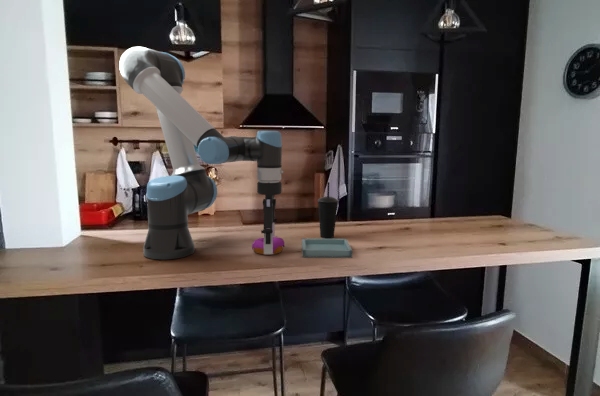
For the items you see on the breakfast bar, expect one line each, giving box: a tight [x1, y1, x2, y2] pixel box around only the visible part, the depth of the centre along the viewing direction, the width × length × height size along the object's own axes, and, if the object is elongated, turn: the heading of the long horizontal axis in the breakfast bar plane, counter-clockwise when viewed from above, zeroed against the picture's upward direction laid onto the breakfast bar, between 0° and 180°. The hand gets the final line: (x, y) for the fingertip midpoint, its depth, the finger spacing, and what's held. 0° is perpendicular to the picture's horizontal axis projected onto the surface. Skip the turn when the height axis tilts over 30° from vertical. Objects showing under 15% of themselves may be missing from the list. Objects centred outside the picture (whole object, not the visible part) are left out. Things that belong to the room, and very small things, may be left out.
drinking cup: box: [317, 181, 340, 239], centre depth 150 cm, size 8×8×20 cm
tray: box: [301, 238, 353, 259], centre depth 134 cm, size 15×14×2 cm
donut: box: [251, 236, 285, 255], centre depth 133 cm, size 10×10×5 cm
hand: (269, 247), depth 133 cm, fingers open, 13 cm apart
